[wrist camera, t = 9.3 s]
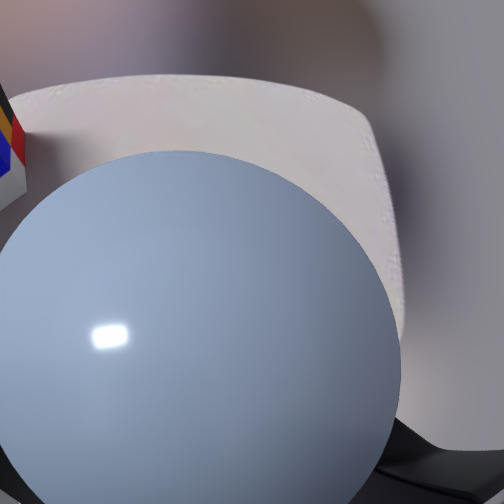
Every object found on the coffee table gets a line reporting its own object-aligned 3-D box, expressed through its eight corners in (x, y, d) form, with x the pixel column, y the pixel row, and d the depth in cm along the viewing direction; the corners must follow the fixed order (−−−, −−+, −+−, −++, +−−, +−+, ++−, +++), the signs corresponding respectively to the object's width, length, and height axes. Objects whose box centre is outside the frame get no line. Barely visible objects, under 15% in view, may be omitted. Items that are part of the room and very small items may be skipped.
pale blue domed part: (195, 430, 12) (159, 599, 1) (135, 354, 13) (-53, 291, 2) (269, 372, 14) (456, 368, 3) (209, 300, 15) (215, 104, 4)
